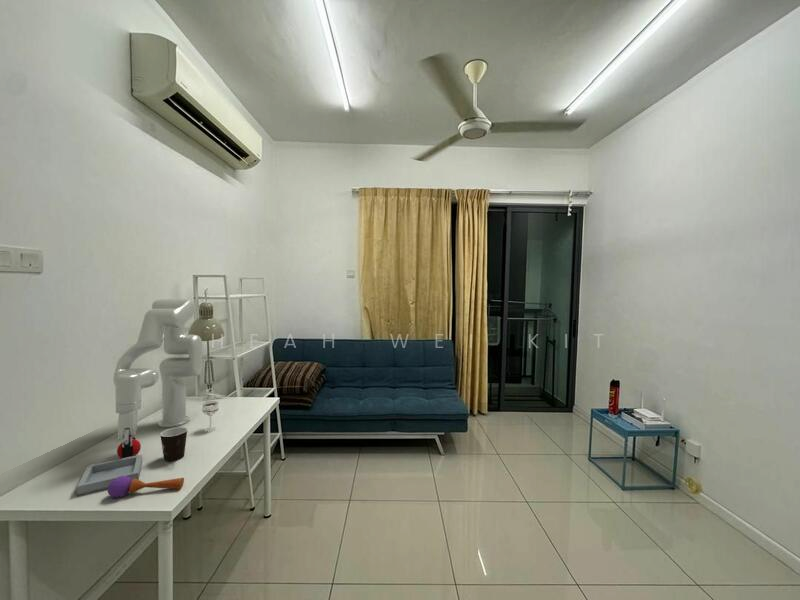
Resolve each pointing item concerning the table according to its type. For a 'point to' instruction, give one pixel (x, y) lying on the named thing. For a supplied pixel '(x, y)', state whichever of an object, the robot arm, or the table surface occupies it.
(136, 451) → the christmas ornament
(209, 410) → the wineglass
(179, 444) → the coffee mug
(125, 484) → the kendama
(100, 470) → the tray
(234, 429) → the table surface
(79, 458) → the table surface
